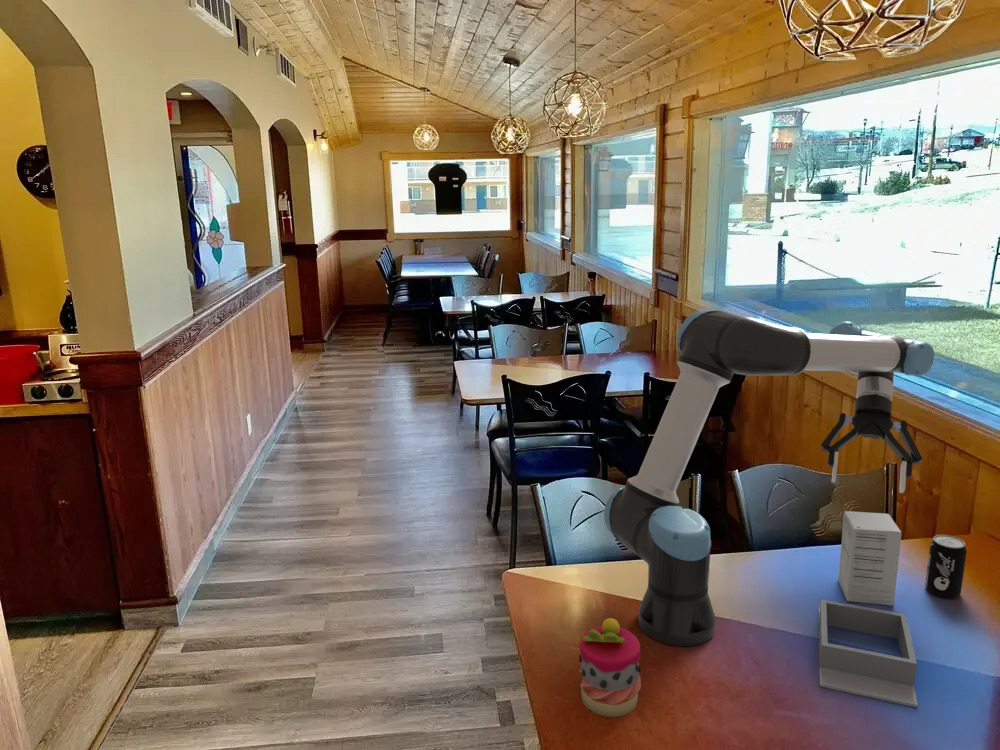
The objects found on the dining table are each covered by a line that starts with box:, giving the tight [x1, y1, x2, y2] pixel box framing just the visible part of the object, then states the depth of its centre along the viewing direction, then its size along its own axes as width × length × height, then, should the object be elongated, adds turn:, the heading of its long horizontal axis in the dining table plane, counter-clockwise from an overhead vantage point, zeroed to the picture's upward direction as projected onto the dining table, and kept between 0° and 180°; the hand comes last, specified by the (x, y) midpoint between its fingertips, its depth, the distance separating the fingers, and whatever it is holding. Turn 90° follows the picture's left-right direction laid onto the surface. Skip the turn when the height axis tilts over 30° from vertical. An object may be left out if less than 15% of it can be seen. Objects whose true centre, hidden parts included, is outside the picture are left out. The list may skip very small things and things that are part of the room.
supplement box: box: [837, 510, 903, 607], centre depth 151 cm, size 10×9×17 cm
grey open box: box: [817, 599, 919, 709], centre depth 133 cm, size 15×26×5 cm, turn 157°
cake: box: [578, 617, 642, 718], centre depth 122 cm, size 10×11×15 cm
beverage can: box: [924, 534, 968, 599], centre depth 151 cm, size 7×7×12 cm
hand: (867, 486), depth 157 cm, fingers open, 13 cm apart
